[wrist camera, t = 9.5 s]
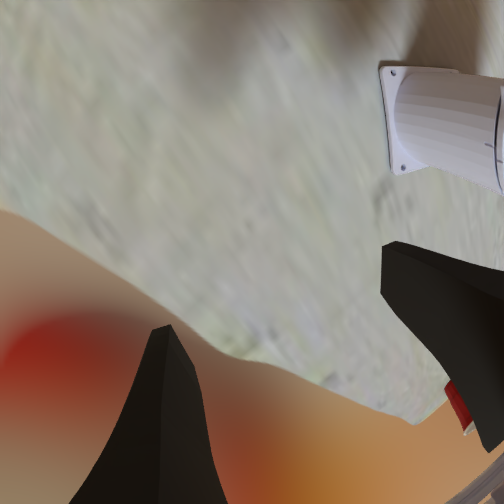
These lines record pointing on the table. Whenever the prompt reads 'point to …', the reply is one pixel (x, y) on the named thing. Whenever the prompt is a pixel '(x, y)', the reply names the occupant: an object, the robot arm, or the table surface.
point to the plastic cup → (460, 408)
